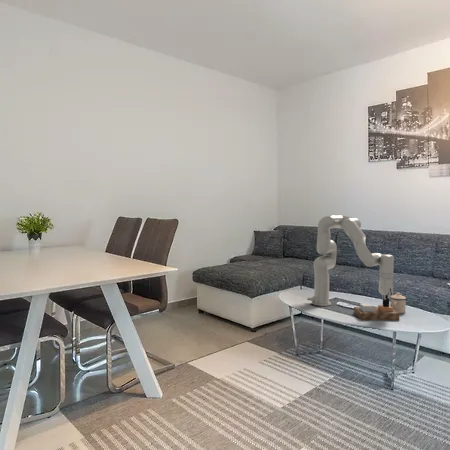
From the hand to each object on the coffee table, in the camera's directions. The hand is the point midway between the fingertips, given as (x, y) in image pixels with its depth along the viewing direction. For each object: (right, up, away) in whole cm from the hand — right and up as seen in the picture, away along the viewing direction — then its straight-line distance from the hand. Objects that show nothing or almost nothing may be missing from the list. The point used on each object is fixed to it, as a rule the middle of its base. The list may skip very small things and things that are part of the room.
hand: (385, 306), depth 228 cm
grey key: (-11, -4, 0) cm, 12 cm away
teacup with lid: (+11, -6, +11) cm, 17 cm away
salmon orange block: (0, -5, 0) cm, 5 cm away
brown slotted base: (-6, -6, +1) cm, 9 cm away
